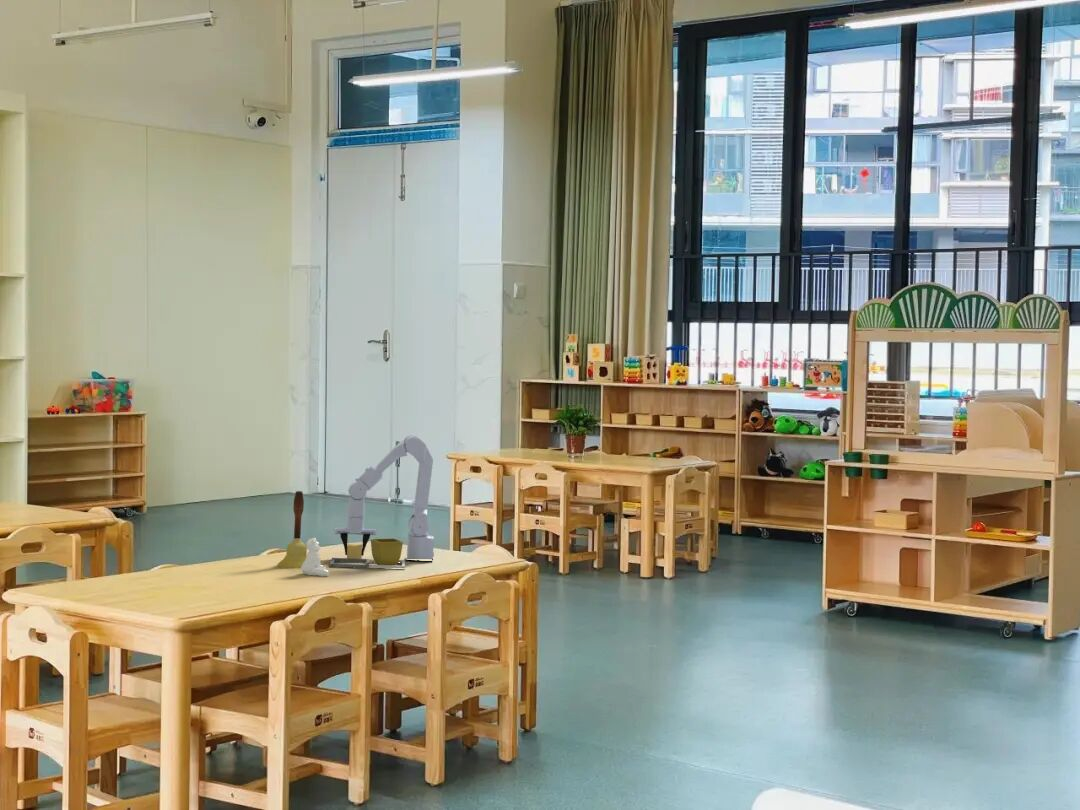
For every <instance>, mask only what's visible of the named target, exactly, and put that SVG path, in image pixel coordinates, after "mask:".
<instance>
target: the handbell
mask: <svg viewBox="0 0 1080 810" xmlns="http://www.w3.org/2000/svg"><path fill="white" fill-rule="evenodd" d="M304 499H305V498H304V493H303V491H302V490H297V491H295V493H294V499H293V514H294V526H293V527H294V529H293V530H294V531H293V540H292V541H291V542H289V543H288V544H287V546H286V554H285V556H284V557H283V559H281V560H280V561H279V562H278V563H277V567H281V568H285V569H301V566H302V564H303V562H304V561H305V560H306V557H307V554H308V552H307V551H308V548H307V546H306V543H305V542H303V541H302V540H301V539H302V538H301V533H302V531H301V529H302V515H303V512H304V507H305V506H304V504H305V503H304V502H305V500H304Z"/></svg>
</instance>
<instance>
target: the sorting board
mask: <svg viewBox="0 0 1080 810" xmlns="http://www.w3.org/2000/svg"><path fill="white" fill-rule="evenodd" d="M335 561H341V562H340V563H336V562H335ZM355 562H367V563H360V564H358V563H355ZM370 562H375V561H374V559H373V558H361V559H353V558H347V557H345V558H344V557H331V559H330V563H329V568H332V567H355V568H354V569H363V568H405V569H406V565H405V564H406V559H405V560H404V559H399V561H398V562H400V563H402V564H401V565H396V566H395V565H376V564H371V563H370ZM369 564H370V565H369Z"/></svg>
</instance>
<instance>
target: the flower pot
mask: <svg viewBox="0 0 1080 810" xmlns="http://www.w3.org/2000/svg"><path fill="white" fill-rule="evenodd" d="M403 542H404V541H401V540H399V539H396V538H392V537H391V538H370V546H371V555H372V559H374V561H375V563H374V564H375V565H376V564H377V565H395V566H397V565H398V564H397V563H398V561H399V560H401V557H402V556H401V555H402V550H403V544H404V543H403Z"/></svg>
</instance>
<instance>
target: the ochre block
mask: <svg viewBox="0 0 1080 810" xmlns="http://www.w3.org/2000/svg"><path fill="white" fill-rule="evenodd" d="M362 545H363V543H347V555H346V558H353V559H363V556H362Z"/></svg>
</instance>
